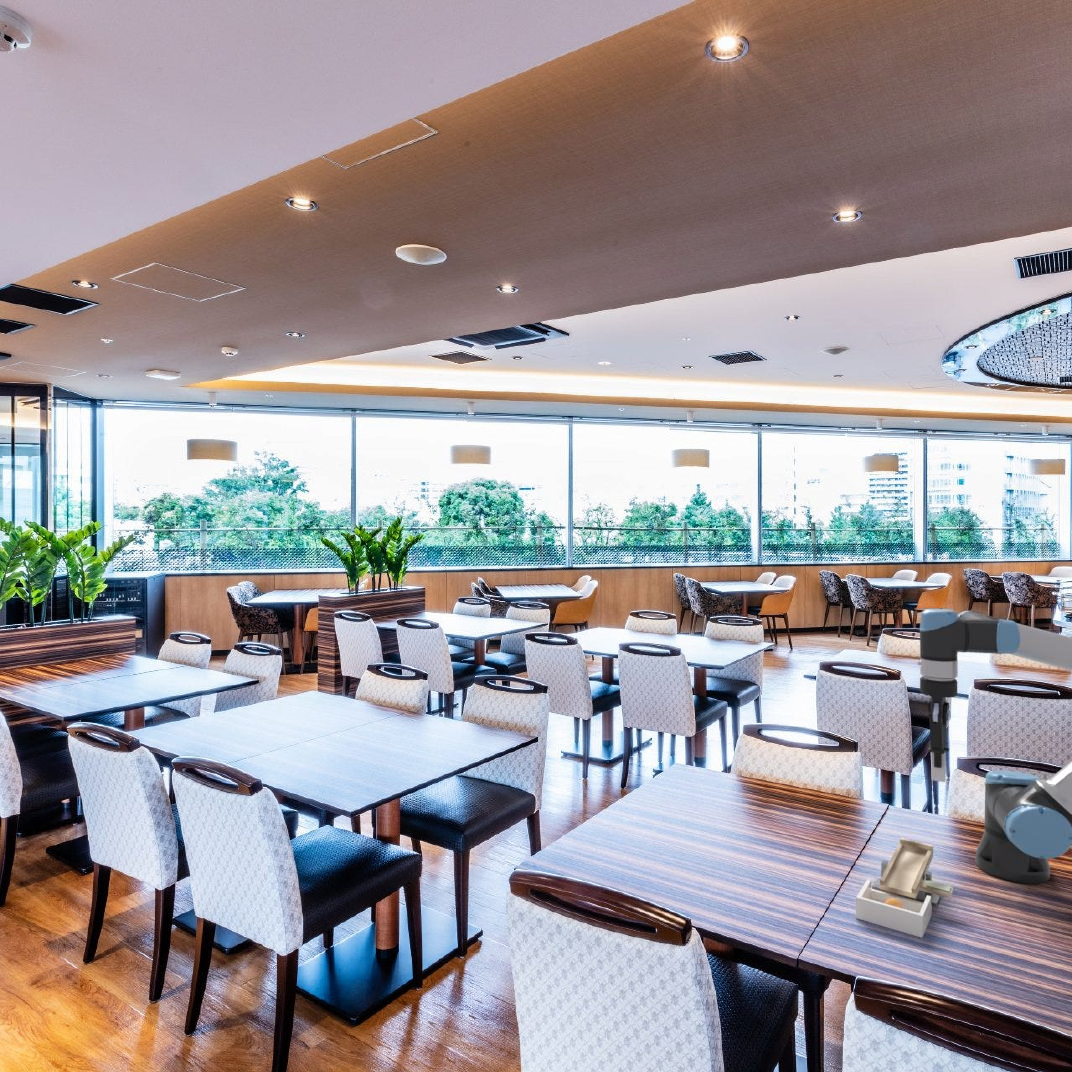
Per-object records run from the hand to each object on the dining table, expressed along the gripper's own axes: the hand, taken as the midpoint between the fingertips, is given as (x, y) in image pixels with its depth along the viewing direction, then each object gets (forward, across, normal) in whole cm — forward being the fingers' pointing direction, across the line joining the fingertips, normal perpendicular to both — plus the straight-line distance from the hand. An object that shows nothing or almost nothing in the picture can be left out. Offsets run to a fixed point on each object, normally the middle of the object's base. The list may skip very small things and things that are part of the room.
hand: (938, 780), depth 175 cm
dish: (+24, +22, -6) cm, 33 cm away
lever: (+20, +8, -2) cm, 21 cm away
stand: (+24, +9, -6) cm, 26 cm away
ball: (+21, +22, -6) cm, 31 cm away
